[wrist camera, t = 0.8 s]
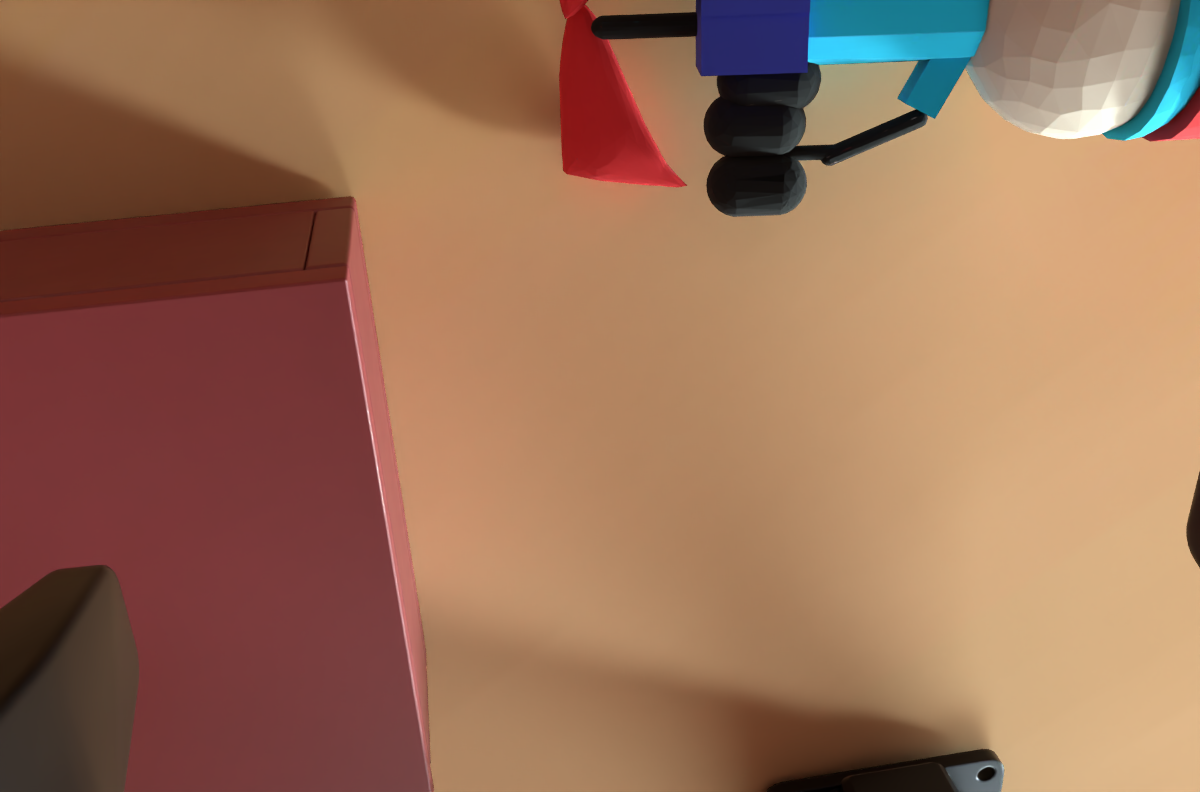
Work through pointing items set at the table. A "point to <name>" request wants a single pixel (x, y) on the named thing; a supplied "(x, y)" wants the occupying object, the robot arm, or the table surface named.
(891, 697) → the table surface
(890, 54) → the toy figure
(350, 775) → the cover
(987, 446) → the table surface
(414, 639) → the dark red shallow box
